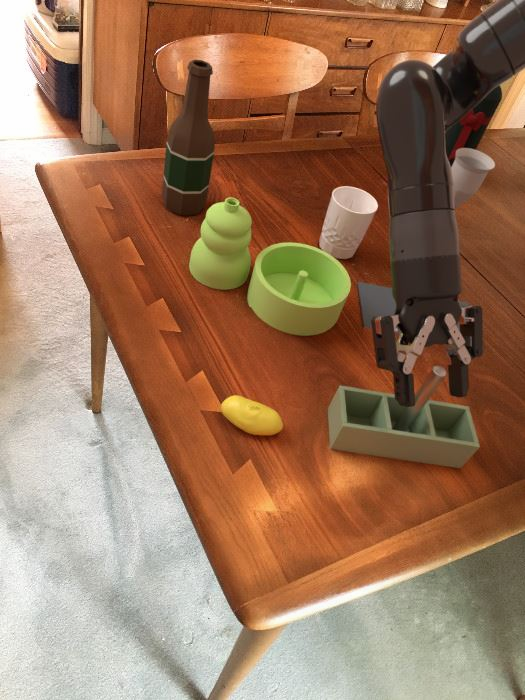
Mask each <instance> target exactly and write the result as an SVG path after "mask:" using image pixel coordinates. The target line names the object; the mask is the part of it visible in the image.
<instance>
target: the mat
mask: <svg viewBox="0 0 525 700" xmlns="http://www.w3.org/2000/svg"><path fill="white" fill-rule="evenodd" d="M356 285H357V292H358V298H359V306H360V314H361V321H362V322H361V323H362V327H363V328H364V329H371V330H372V325H371V319H372V318H373V317H374V316H389V315H394V312H395V309H396V302H395V299H394V298H393V295H392V287H387V286H383V285H377V284H374V283H366V282H362V281H357V283H356ZM458 302H459V305H460V306H461V307H462V306H471V305H470V302H467V301H462V300H458ZM456 326H457V327H458V329H459V331H460V323H459V322H458V323H457V325H456ZM396 328H397V331H396V332H395V334H398V335H400V332H401V331H400V330H399V328H398V327H397V326H396ZM470 346H472V337H470ZM483 350H485V347H484V346H483Z"/></svg>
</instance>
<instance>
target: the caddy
mask: <svg viewBox="0 0 525 700" xmlns="http://www.w3.org/2000/svg"><path fill="white" fill-rule="evenodd" d="M405 409H406V407H404V406H400V405H399V403H398V401H396V399H395V394H394V393H388V392H383V391H378V390H377V391H376V390H371V389H364V388H358V387H353V386H346V385H341V384H340V385H339V386H338V388H337V390H336V392H335V394H334V396H333V398H332V400H331V402H330V403H329V406H328V408H327V415H328V416H327V417H328V418H327V420H328V434H329V449H330V450H334V451H339V452H348V453H355V454H362V455H368V456H374V457H381V458H387V459H388V458H389V459H395V460H402V461H409V462H416V463H422V464H428V465H437V466H442V467H443V466H444V467H449V466H450V468H456V469H461V468H462V467H464V465H466V463H467V462H468V461H469V460H470V459H471V458H472V456H474V455H475V453H476V452H477V451H478V450H479V449H480V448H481V446H480V441H479V437H478V434H477V431H476V428H475V424H474V421H473V420H474V419H473V416H472V413H471V410H470V409H471V408H470V406H468V405H463V404H458V403H457V404H456V403H450V402H444V401H438V400H432V399H429V400H428V401H427V403H426V404H425V405H424V407H423V408H422V410H421V411H420V412H419V414H418V415H417V417H416V418H415V420H414V421H413V422H412V424H411V425H410V427H409V428H408V431H409V432H404V431H397V430H392V426H391V422H392V421H395V422H397V421H398V419H399V418H400V416H401V415H402V413H403V412H404V410H405Z"/></svg>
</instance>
